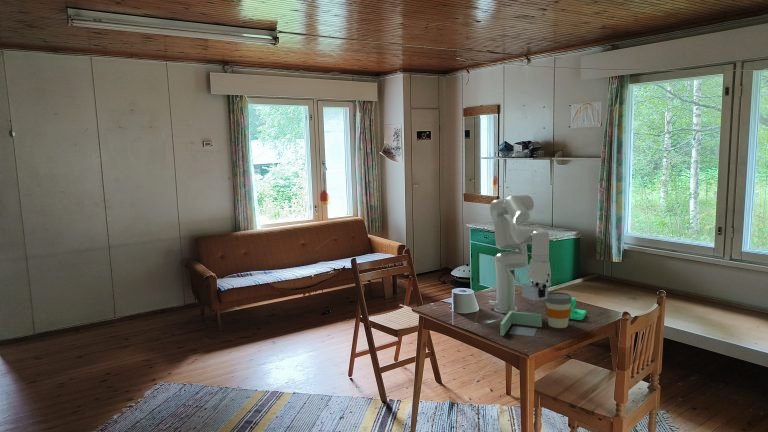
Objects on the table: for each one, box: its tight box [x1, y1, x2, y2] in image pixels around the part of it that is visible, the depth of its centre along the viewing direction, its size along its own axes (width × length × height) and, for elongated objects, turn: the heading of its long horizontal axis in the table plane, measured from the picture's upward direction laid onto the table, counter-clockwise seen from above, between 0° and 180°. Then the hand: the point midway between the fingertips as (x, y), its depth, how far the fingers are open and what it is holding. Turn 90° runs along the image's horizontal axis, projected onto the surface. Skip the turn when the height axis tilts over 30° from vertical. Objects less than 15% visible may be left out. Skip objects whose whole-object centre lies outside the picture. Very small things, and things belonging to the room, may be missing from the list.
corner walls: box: [499, 311, 543, 337], centre depth 253 cm, size 16×20×6 cm
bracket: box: [521, 282, 549, 302], centre depth 247 cm, size 8×8×6 cm
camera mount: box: [569, 297, 587, 321], centre depth 270 cm, size 12×8×10 cm, turn 146°
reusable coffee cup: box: [544, 291, 573, 329], centre depth 259 cm, size 13×13×15 cm
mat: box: [508, 325, 538, 338], centre depth 253 cm, size 12×11×1 cm
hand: (539, 296), depth 245 cm, fingers closed on bracket, 2 cm apart
